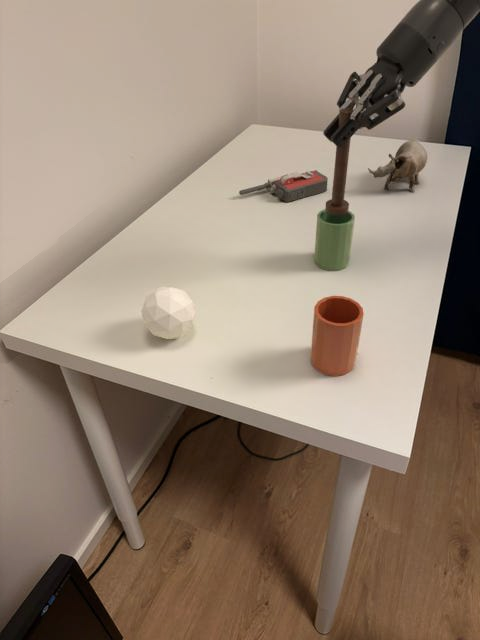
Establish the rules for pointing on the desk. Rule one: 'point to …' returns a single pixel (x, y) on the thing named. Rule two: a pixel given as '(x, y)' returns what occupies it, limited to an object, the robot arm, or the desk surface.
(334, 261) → the green cup
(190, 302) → the geometric ball
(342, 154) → the muddler
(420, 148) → the rhinoceros figurine
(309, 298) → the desk surface
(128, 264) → the desk surface
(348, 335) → the terracotta cup
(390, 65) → the robot arm
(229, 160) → the desk surface
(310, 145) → the desk surface
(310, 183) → the walkie-talkie
